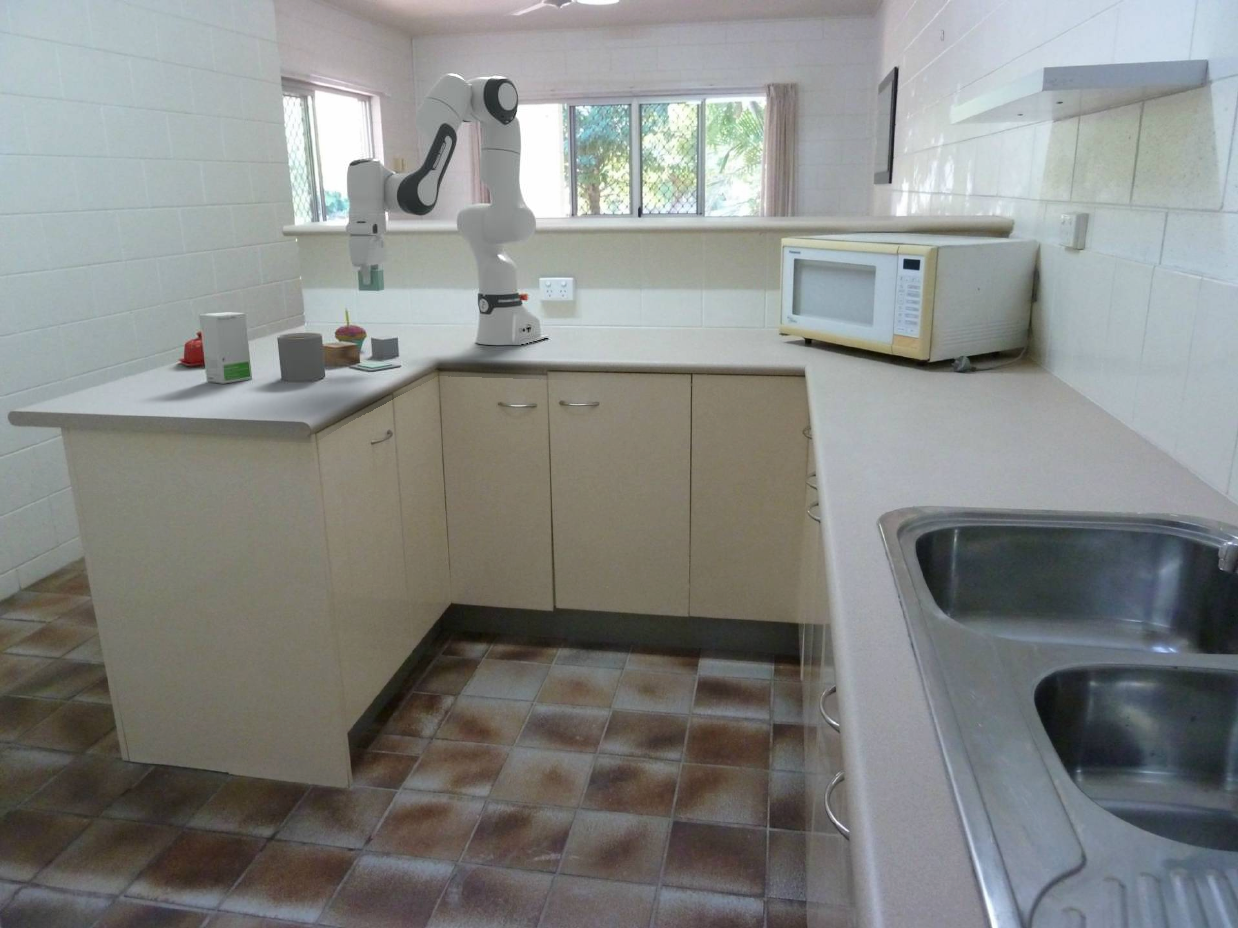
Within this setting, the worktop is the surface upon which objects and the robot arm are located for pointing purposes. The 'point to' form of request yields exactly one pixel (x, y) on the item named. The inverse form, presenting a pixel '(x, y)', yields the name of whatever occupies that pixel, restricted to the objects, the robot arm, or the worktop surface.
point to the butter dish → (194, 352)
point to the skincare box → (225, 347)
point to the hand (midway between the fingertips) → (370, 283)
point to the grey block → (385, 346)
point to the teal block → (376, 281)
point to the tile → (375, 366)
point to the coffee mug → (301, 357)
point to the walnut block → (341, 353)
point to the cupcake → (351, 333)
